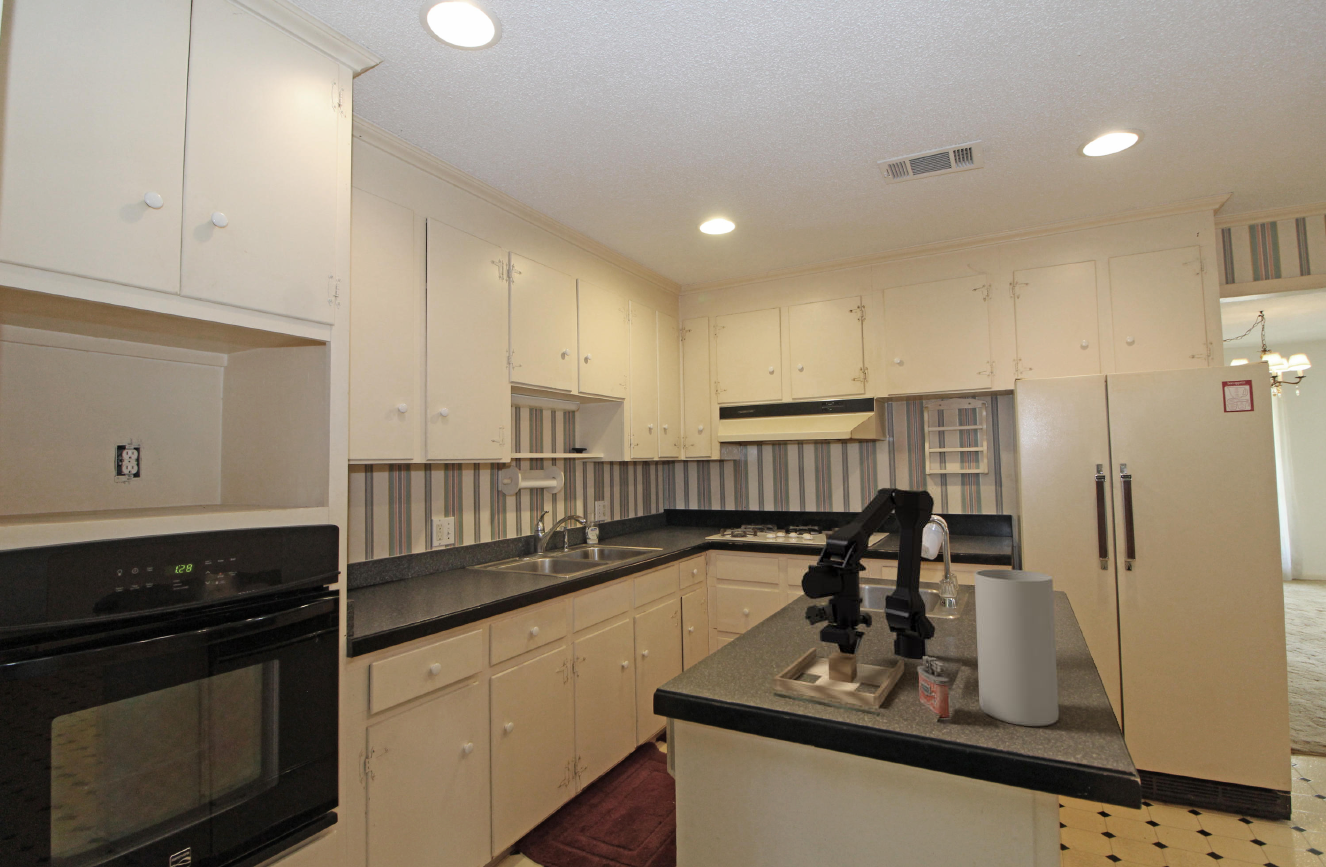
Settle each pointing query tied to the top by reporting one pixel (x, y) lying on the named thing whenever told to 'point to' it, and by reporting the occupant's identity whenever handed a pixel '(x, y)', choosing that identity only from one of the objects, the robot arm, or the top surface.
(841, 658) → the block
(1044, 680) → the cylinder vase
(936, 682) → the lighter
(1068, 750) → the top surface
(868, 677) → the box
